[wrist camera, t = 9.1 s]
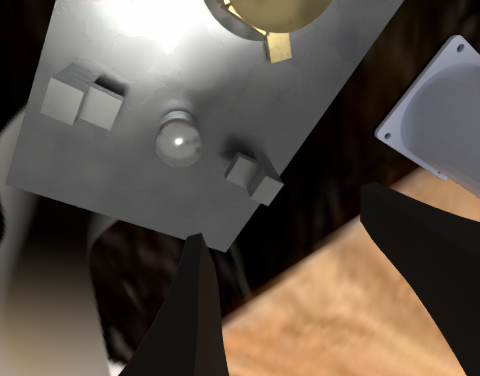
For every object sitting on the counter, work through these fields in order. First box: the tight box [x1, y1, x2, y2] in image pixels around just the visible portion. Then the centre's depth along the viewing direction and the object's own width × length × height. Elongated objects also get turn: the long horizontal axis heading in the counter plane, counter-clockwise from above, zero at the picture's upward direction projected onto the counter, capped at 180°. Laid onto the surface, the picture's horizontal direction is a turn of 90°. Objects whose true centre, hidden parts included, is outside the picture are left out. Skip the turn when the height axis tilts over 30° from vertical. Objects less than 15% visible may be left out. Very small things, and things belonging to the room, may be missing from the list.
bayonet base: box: [6, 0, 404, 252], centre depth 17 cm, size 16×22×4 cm
